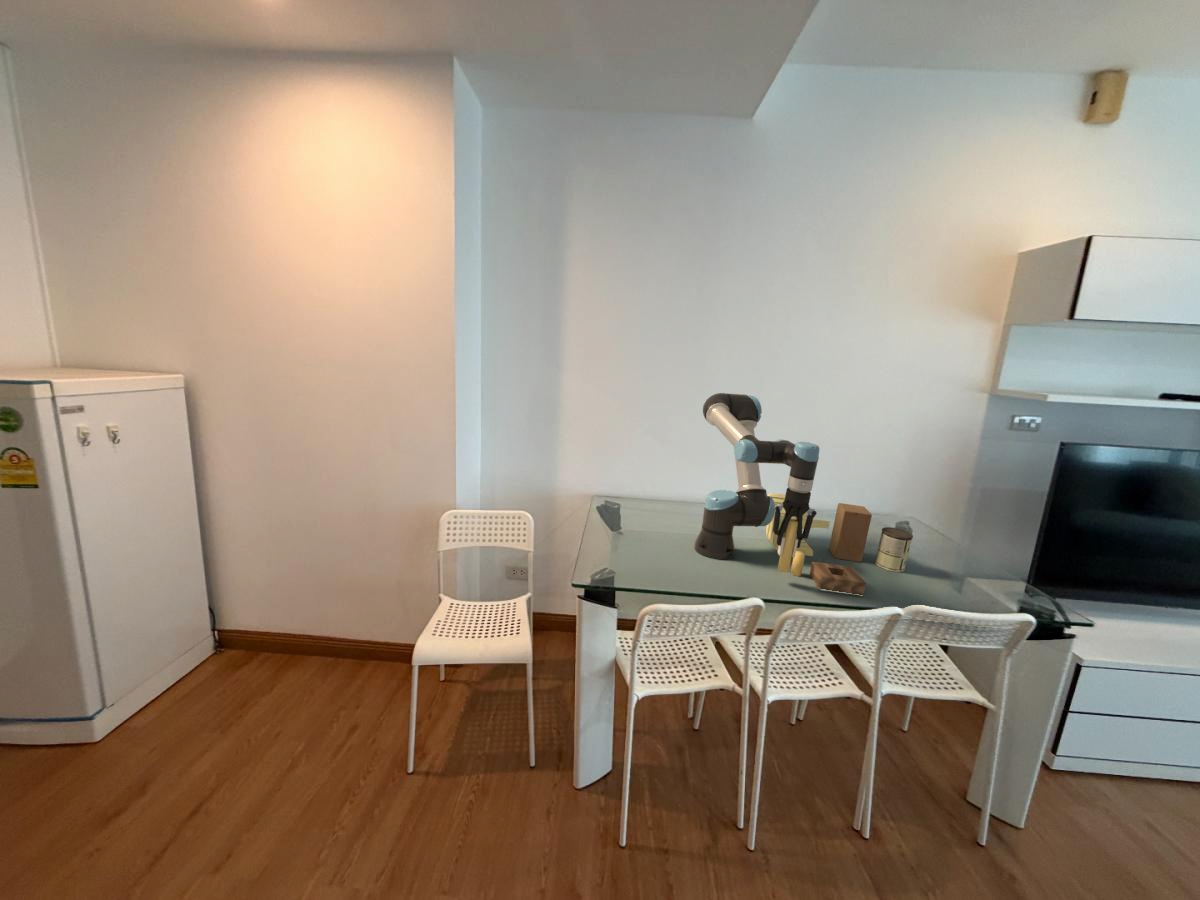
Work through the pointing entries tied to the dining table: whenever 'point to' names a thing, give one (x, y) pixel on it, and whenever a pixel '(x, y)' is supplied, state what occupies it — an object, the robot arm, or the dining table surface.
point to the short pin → (798, 563)
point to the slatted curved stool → (815, 523)
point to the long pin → (788, 545)
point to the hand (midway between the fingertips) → (786, 554)
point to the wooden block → (850, 532)
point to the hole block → (837, 578)
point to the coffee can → (893, 549)
